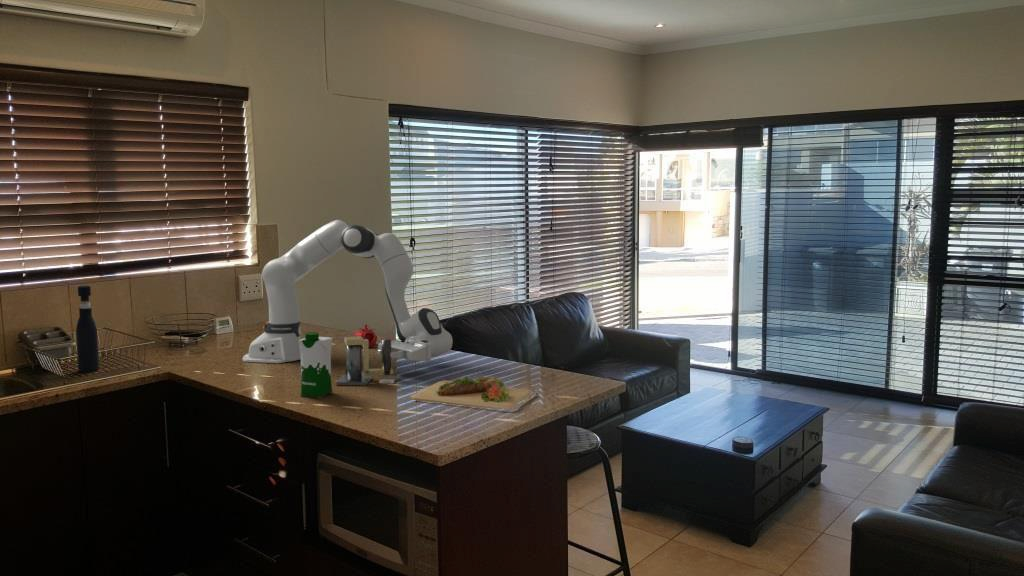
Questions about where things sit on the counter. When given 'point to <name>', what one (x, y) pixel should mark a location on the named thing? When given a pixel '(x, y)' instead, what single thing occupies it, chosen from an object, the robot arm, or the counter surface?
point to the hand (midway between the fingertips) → (384, 353)
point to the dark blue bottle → (86, 334)
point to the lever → (359, 340)
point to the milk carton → (315, 365)
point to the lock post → (356, 368)
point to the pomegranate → (367, 335)
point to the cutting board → (472, 393)
